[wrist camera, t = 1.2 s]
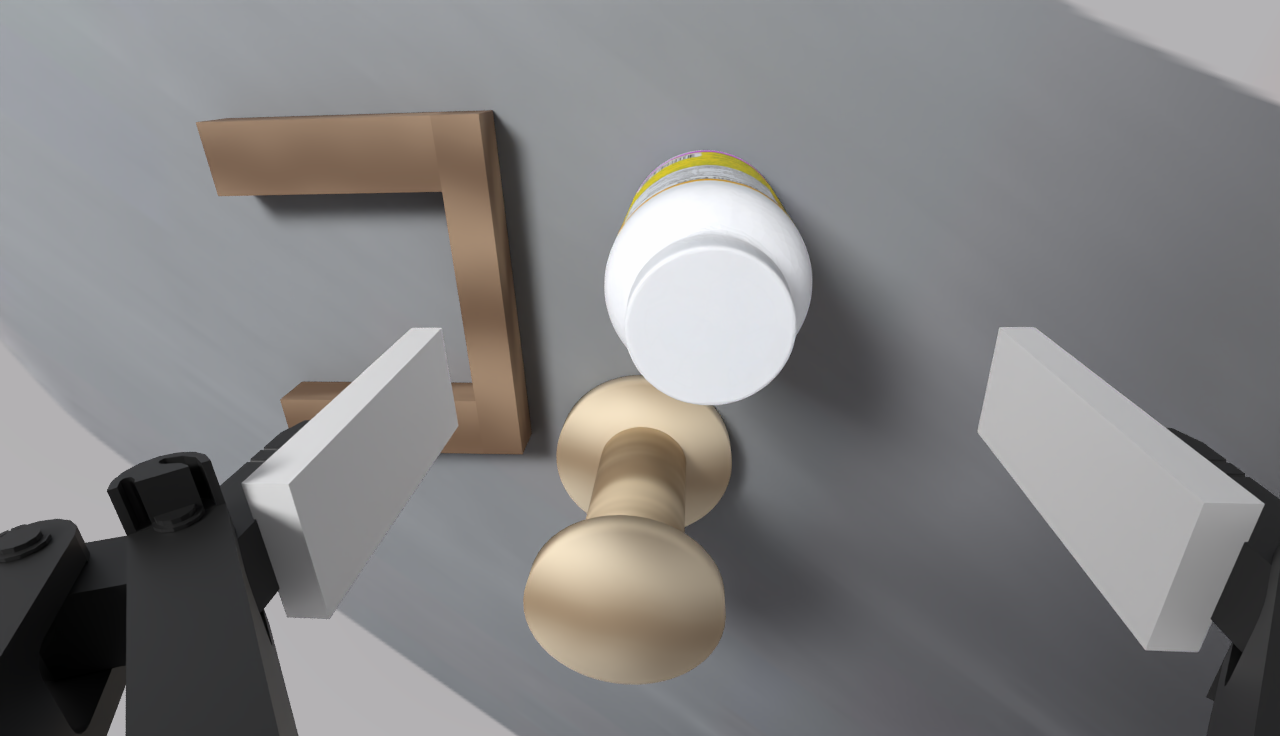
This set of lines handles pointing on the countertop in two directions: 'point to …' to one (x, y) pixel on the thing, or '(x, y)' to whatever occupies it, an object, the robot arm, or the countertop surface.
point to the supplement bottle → (708, 279)
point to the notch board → (393, 163)
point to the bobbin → (633, 538)
